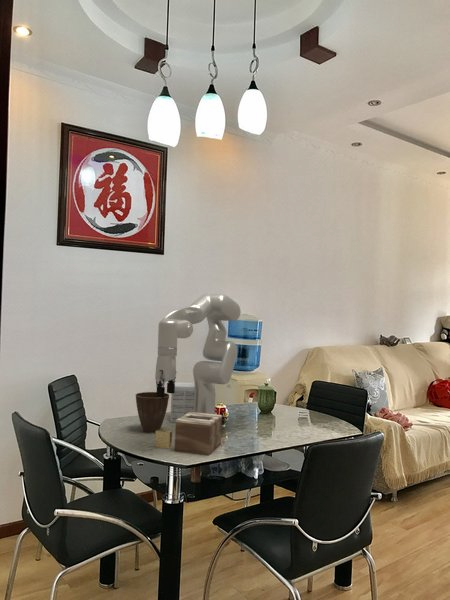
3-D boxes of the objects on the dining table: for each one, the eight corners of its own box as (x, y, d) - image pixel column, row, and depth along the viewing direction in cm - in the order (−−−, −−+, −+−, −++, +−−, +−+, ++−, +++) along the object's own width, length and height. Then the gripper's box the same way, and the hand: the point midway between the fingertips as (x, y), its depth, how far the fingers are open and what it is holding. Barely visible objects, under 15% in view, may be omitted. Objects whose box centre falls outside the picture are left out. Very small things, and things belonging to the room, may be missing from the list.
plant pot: (127, 431, 225) (128, 395, 225) (147, 424, 238) (148, 390, 238) (155, 436, 218) (156, 399, 218) (174, 429, 231) (175, 394, 231)
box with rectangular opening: (188, 440, 214) (189, 411, 214) (220, 444, 210) (221, 415, 210) (174, 450, 198) (175, 419, 199) (209, 455, 195) (210, 423, 195)
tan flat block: (157, 445, 205) (158, 429, 205) (171, 447, 203) (172, 430, 203) (155, 447, 203) (155, 430, 203) (169, 448, 201) (169, 432, 201)
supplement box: (171, 416, 258) (172, 381, 258) (197, 417, 259) (198, 382, 259) (169, 422, 245) (171, 386, 245) (197, 423, 245) (198, 386, 245)
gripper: (167, 349, 211) (165, 390, 211) (148, 353, 194) (147, 398, 194) (184, 350, 209) (182, 392, 209) (167, 354, 192) (165, 399, 192)
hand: (165, 395), depth 202 cm, fingers open, 9 cm apart
